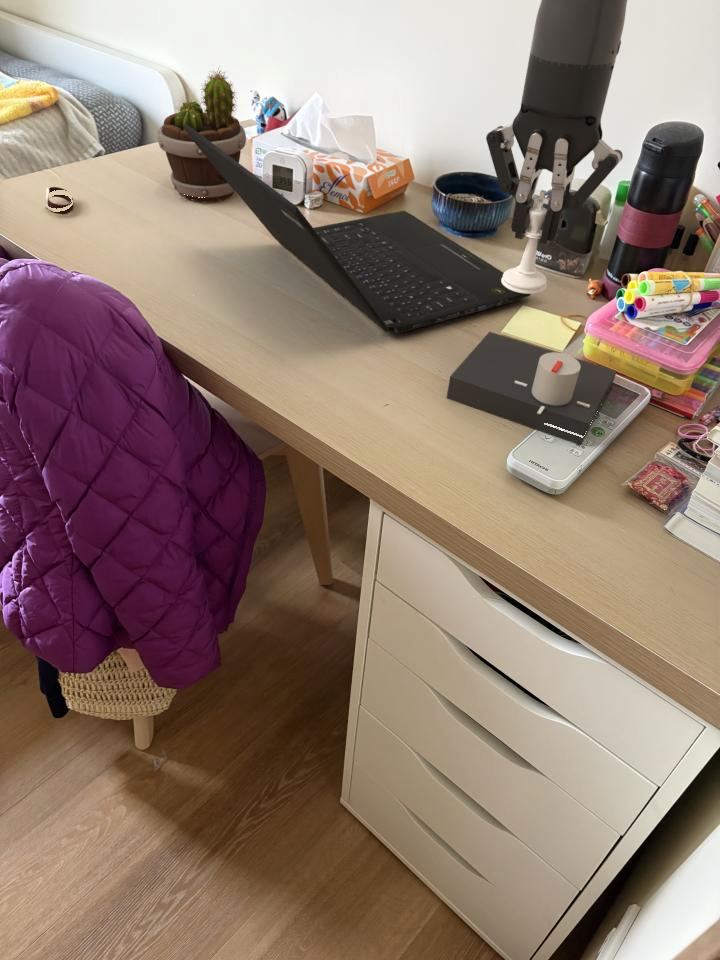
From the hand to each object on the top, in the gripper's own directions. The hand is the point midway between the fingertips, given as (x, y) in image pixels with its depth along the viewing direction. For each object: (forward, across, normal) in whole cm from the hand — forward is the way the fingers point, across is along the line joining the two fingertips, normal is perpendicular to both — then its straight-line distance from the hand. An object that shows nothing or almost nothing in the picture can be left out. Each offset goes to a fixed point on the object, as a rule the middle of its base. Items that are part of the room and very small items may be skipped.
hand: (533, 239), depth 75 cm
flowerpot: (+17, -66, +26) cm, 73 cm away
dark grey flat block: (+17, +4, -2) cm, 18 cm away
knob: (+14, +7, -5) cm, 17 cm away
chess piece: (+5, 0, 0) cm, 5 cm away
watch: (+17, -81, +6) cm, 83 cm away
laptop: (+17, -27, +12) cm, 34 cm away
